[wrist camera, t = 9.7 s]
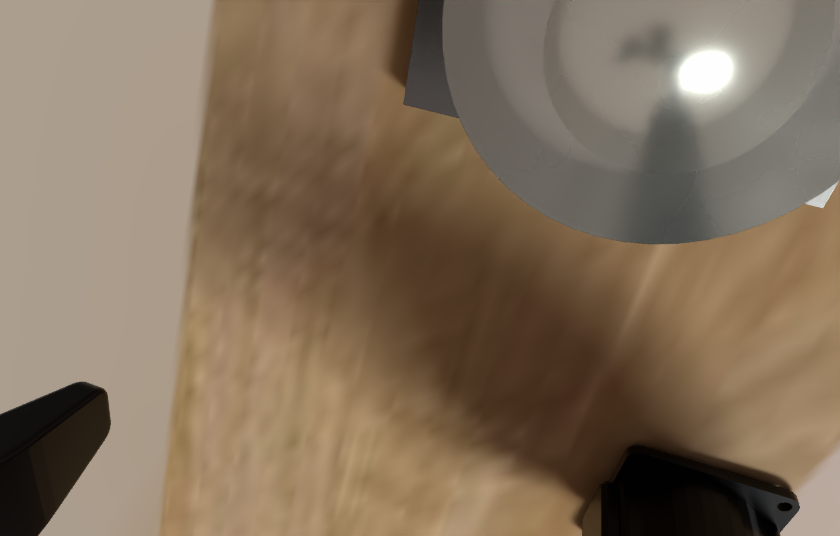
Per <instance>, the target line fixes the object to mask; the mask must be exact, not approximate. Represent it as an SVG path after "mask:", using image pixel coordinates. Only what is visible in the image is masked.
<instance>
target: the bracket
mask: <svg viewBox="0 0 840 536" xmlns="http://www.w3.org/2000/svg"><path fill="white" fill-rule="evenodd" d="M404 105H408V106H412V107H416V108H420V109H424V110H428V111H432V112H436V113H440V114H444V115H448V116H452V117H456V118H460V121H461V123H462V126H463V128H464V130H465V132H466V133H467V135H468V137H469V139H470V141H471V142H472V144H473V146H474V148H475V149H476V151H477V152H478V154H479V155H480V156H481V158H482V159H483V160H484V162H485V163H486V165H487V166H488V167H489V169H490V170H491V171H492V172H493V173H494V174H495V175H496V176H497V177H498V178H499V179H500V181H501V182H502V183H503V184H504V185H505V186H506V187H507V188H508V189H509V190H511V191H512V192H513V193H514V194H515V195H517V196H518V197H519V198H520V199H522V200H523V201H524V202H525V203H527V204H528V205H529V206H531V207H533V208H534V209H536V210H537V211H539V212H541V213H542V214H544V215H546V216H547V217H549V218H551V219H553V220H555V221H557V222H559V223H562V224H564V225H566V226H568V227H570V228H572V229H575V230H578V231H581V232H585V233H588V234H591V235H594V236H597V237H602V238H607V239H612V240H616V241H621V242H631V243H642V244H679V243H687V242H695V241H703V240H709V239H713V238H717V237H722V236H726V235H730V234H735V233H738V232H741V231H743V230H746V229H749V228H752V227H755V226H758V225H761V224H764V223H766V222H768V221H771V220H773V219H775V218H777V217H779V216H782V215H784V214H786V213H788V212H790V211H792V210H794V209H796V208H798V207H800V206H801V205H803V204H808V205H812V206H816V207H820V208H823V207H824V205H825V203H826V202H827V200H828V199H829V197H830V195H831V194H832V192H833V190H834V189H835V187H836V185H837V184H838V182H839V181H840V0H419V3H418V9H417V16H416V23H415V30H414V36H413V43H412V50H411V57H410V63H409V70H408V77H407V83H406V90H405V97H404Z"/></svg>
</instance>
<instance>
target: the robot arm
mask: <svg viewBox="0 0 840 536" xmlns="http://www.w3.org/2000/svg"><path fill="white" fill-rule="evenodd" d="M110 425H111V420H110V411H109V402H108V395H107V392H106V391H105V390H104V389H103V388H101V387H98V386H95V385H92V384H90V383H87V382H76V383H73V384H71V385H68V386H66V387H64V388H61V389H59V390H57V391H54V392H52V393H49V394H47V395H45V396H42V397H40V398H38V399H35V400H33V401H30V402H28V403H26V404H23V405H21V406H19V407H16V408H14V409H11V410H9V411H7V412H4V413H2V414H0V536H38V535H39V534H40V532H41V531H42V530H43V529H44V527H45V526H46V525H47V524H48V522H49V521H50V519H51V518H52V517H53V515H54V514H55V512H56V511H57V509H58V508H59V506H60V505H61V504H62V502H63V501H64V499H65V498H66V496H67V495H68V493H69V492H70V490H71V489H72V488H73V486H74V485H75V483H76V482H77V480H78V479H79V477H80V476H81V474H82V473H83V471H84V470H85V468H86V467H87V465H88V464H89V462H90V461H91V460H92V458H93V457H94V455H95V454H96V452H97V450H98V449H99V447H100V446H101V445H102V443H103V442H104V440H105V438H106V437H107V435H108V433H109V430H110ZM636 458H642V459H636ZM783 502H784V503H783ZM799 509H800V506H799V503H798V499H797V496H796V495H795V494H794V493H793V492H792V491H789V490H786V489H783V488H780V487H777V486H773V485H770V484H767V483H763V482H760V481H757V480H753V479H750V478H747V477H743V476H740V475H737V474H734V473H730V472H727V471H724V470H720V469H717V468H714V467H710V466H707V465H704V464H701V463H697V462H694V461H691V460H687V459H684V458H681V457H677V456H674V455H671V454H667V453H664V452H661V451H658V450H654V449H651V448H648V447H644V446H639V445H636V446H631V447H629V448H628V449H627V450H626V451H625V453H624V455H623V457H622V459H621V460H620V462H619V464H618V466H617V468H616V470H615V472H614V473H613V475H612V477H611V479H610V481H609V482H608V481H606V482H604V483H602V484H601V485H600V486H599V488H598V490H597V492H596V494H595V496H594V498H593V500H592V502H591V503H590V505H589V507H588V509H587V511H586V513H585V515H584V517H583V524H582V536H780V532H781V531H782V530H783V528H784V527H785V526H786V525H787V524H788V523H789V521H790V520H791V519H792V518H793V517H794V516H795V514H796V513H797V512H798V511H799Z"/></svg>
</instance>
